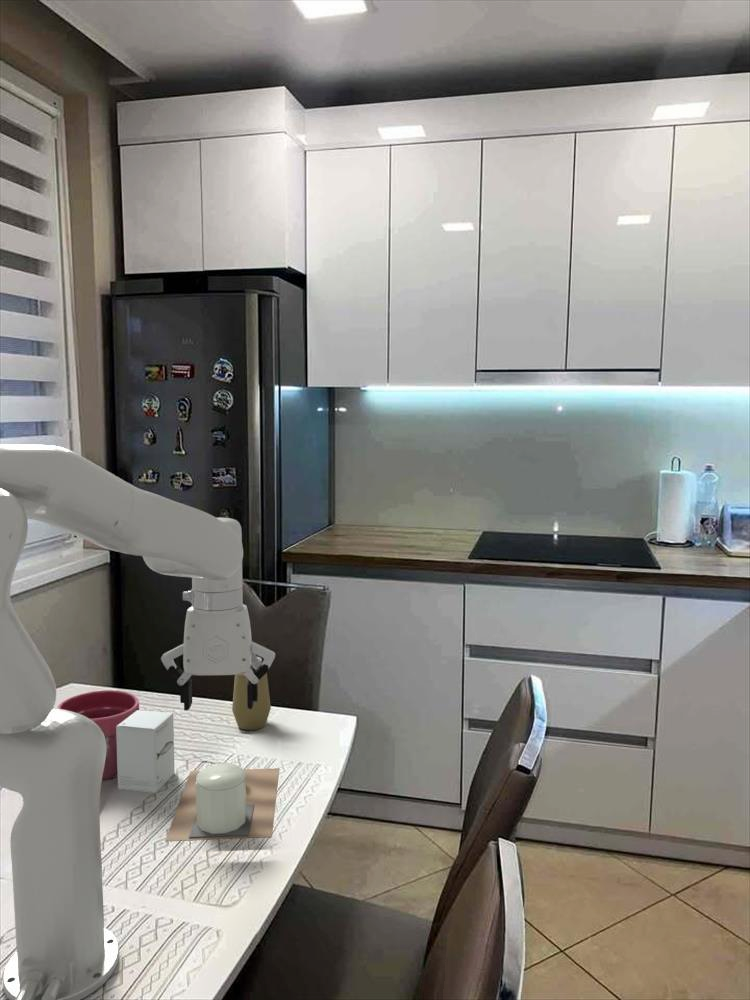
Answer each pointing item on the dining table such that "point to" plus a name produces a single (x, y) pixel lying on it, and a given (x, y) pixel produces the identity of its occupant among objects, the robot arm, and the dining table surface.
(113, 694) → the plant pot
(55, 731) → the robot arm
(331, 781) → the dining table surface
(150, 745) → the supplement box
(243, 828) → the tan flat board
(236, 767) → the sage cup
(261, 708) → the squeeze bottle
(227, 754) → the dining table surface
